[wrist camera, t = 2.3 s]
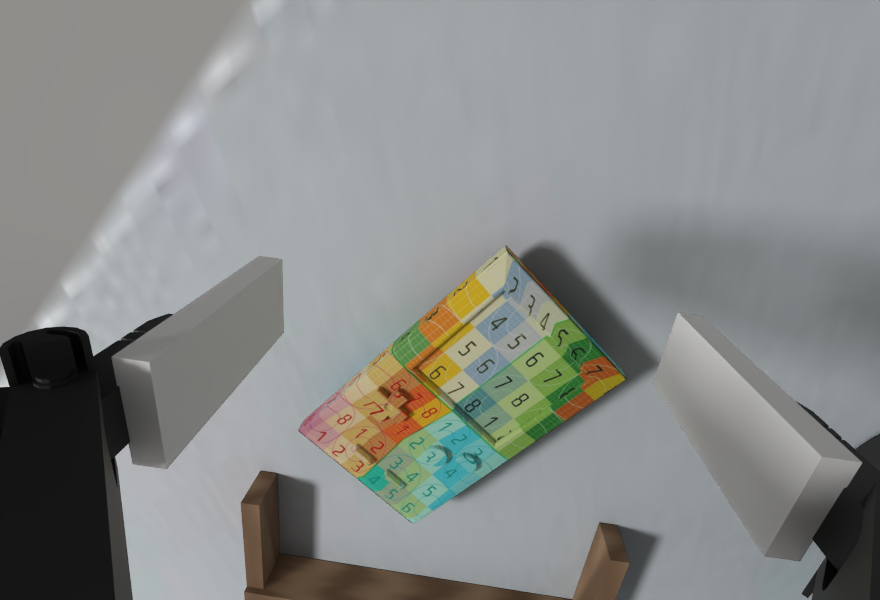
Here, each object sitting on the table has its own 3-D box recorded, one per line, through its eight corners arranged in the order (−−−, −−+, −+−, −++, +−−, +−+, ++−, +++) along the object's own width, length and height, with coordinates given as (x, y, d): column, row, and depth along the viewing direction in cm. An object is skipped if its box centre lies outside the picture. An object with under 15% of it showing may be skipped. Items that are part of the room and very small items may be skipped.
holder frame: (617, 525, 38) (631, 569, 35) (584, 612, 43) (594, 659, 39) (260, 470, 39) (237, 507, 36) (264, 561, 44) (245, 603, 40)
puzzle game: (293, 439, 32) (508, 254, 26) (315, 400, 36) (503, 234, 30) (410, 533, 35) (631, 387, 28) (417, 487, 39) (611, 350, 33)
